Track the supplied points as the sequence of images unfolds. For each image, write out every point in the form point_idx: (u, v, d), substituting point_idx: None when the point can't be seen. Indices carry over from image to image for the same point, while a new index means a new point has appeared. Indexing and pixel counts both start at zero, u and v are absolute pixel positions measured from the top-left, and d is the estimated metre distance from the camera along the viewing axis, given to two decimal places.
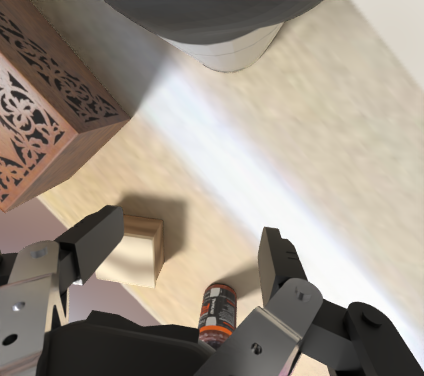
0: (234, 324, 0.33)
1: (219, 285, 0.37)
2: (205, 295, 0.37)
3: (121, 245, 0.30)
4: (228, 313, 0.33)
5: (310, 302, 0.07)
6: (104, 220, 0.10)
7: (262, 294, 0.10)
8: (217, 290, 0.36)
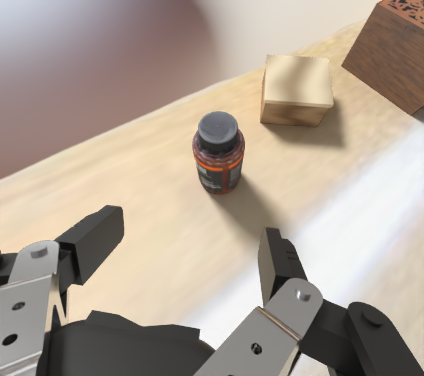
0: (228, 175, 0.25)
1: None
2: None
3: (318, 80, 0.31)
4: (238, 170, 0.26)
5: (310, 302, 0.07)
6: (104, 220, 0.10)
7: (262, 294, 0.10)
8: None
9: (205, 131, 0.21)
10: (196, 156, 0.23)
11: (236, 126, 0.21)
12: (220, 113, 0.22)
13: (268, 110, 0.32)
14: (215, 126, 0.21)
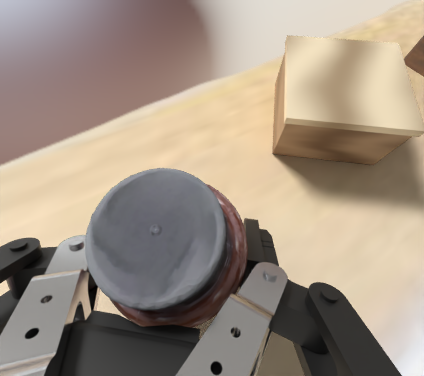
0: None
1: None
2: None
3: (386, 82, 0.16)
4: None
5: (275, 282, 0.07)
6: None
7: None
8: None
9: (106, 250, 0.06)
10: None
11: (220, 232, 0.06)
12: (170, 175, 0.07)
13: (290, 136, 0.17)
14: (144, 231, 0.06)
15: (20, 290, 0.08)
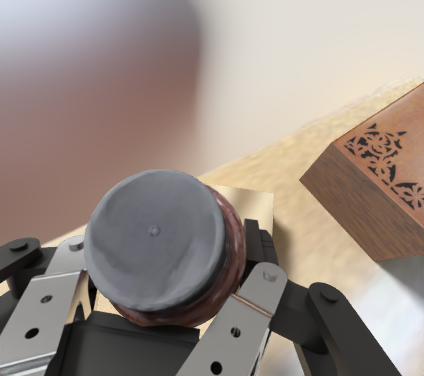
0: None
1: None
2: None
3: None
4: None
5: (275, 282, 0.07)
6: None
7: None
8: None
9: (105, 251, 0.06)
10: None
11: (219, 233, 0.06)
12: (169, 176, 0.06)
13: None
14: (142, 232, 0.06)
15: (20, 290, 0.08)
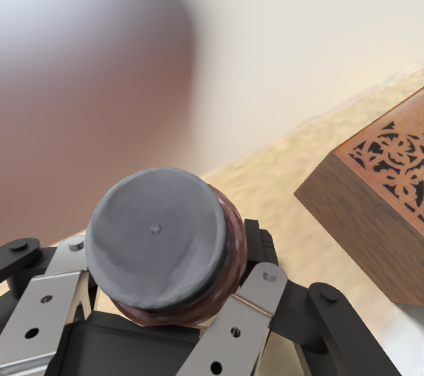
0: None
1: None
2: None
3: None
4: None
5: (275, 282, 0.07)
6: None
7: None
8: None
9: (106, 249, 0.06)
10: None
11: (221, 231, 0.06)
12: (170, 174, 0.06)
13: None
14: (144, 230, 0.06)
15: (20, 290, 0.08)
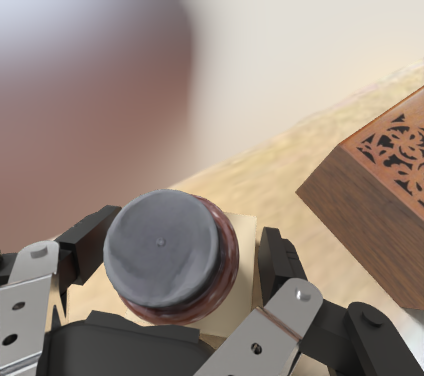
0: None
1: None
2: None
3: None
4: None
5: (310, 302, 0.07)
6: (104, 220, 0.10)
7: (262, 294, 0.10)
8: None
9: (121, 259, 0.07)
10: None
11: (214, 244, 0.07)
12: (173, 196, 0.08)
13: None
14: (151, 243, 0.07)
15: None
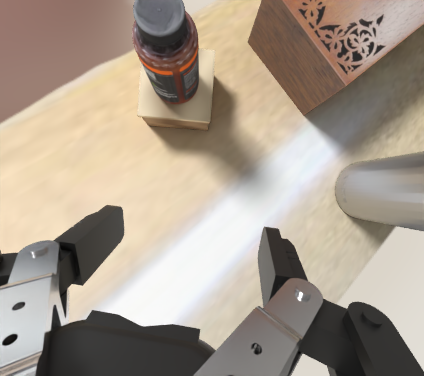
0: (181, 80, 0.22)
1: None
2: None
3: (199, 86, 0.28)
4: (194, 74, 0.22)
5: (310, 302, 0.07)
6: (104, 220, 0.10)
7: (262, 294, 0.10)
8: None
9: (143, 17, 0.16)
10: (139, 55, 0.19)
11: (183, 10, 0.16)
12: None
13: (149, 119, 0.29)
14: (155, 10, 0.16)
15: None
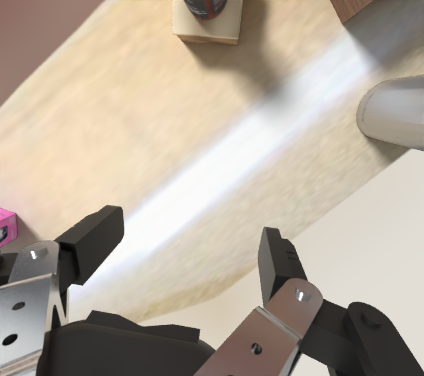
0: None
1: None
2: None
3: None
4: None
5: (310, 302, 0.07)
6: (104, 220, 0.10)
7: (262, 294, 0.10)
8: None
9: None
10: None
11: None
12: None
13: (182, 36, 0.32)
14: None
15: None
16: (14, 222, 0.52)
